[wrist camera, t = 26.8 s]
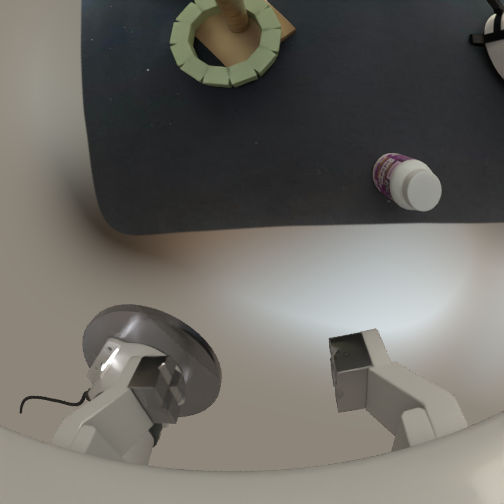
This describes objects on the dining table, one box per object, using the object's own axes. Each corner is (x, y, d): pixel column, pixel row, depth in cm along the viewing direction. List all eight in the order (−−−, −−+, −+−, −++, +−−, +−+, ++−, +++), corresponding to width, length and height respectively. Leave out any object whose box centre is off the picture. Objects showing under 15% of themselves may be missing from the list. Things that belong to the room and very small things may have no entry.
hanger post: (235, 76, 31) (215, 52, 20) (187, 28, 29) (149, -8, 17) (295, 32, 29) (305, -9, 17) (245, -14, 26) (232, -66, 15)
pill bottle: (372, 150, 33) (403, 160, 25) (411, 154, 33) (450, 166, 24) (369, 194, 36) (398, 217, 27) (407, 196, 35) (443, 219, 26)
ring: (198, 103, 31) (192, 101, 29) (164, 22, 27) (157, 17, 25) (296, 66, 29) (297, 61, 27) (257, -14, 25) (255, -23, 23)
